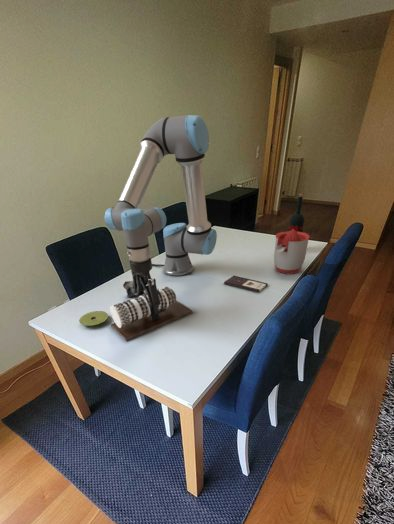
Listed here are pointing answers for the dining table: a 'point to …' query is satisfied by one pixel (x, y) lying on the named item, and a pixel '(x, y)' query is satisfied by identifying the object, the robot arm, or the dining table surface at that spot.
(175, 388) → the dining table surface
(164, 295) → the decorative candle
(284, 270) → the citrus juicer
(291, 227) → the wine bottle
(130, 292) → the foil
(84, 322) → the mat
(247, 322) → the dining table surface
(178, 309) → the walnut board
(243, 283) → the chocolate bar
